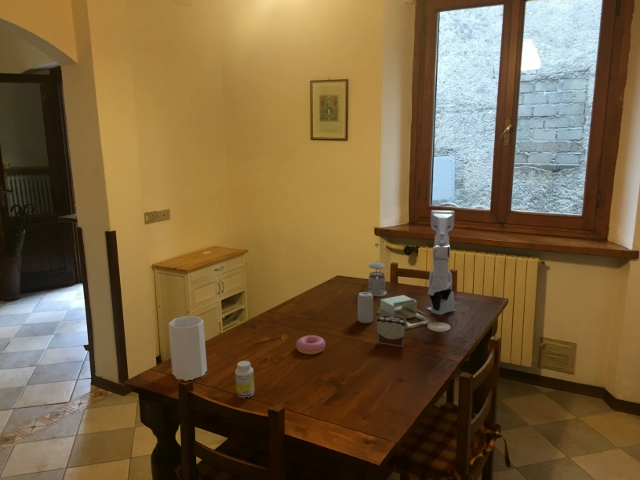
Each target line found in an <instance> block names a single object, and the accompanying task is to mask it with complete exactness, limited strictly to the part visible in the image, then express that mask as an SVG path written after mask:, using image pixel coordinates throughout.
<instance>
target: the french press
mask: <svg viewBox="0 0 640 480" xmlns="http://www.w3.org/2000/svg"><path fill="white" fill-rule="evenodd" d="M374 246H375V247H378V246H380V244H379V243H378V242H376V243H375V244H374ZM368 268H370V269H374V270H378V271H372V272H370V273H369V276H368V291H367V292H369V293H372V296H373V297H382V296H383V297H384V296H385V295H387V293H388V292H387V291H386V276H385V273H384V272H381V271H380V270H381V269H385V268H386V265H385V264H384V263H382V262H378V261H376V262H372V263H370V264H369V265H368Z"/></svg>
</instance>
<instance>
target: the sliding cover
mask: <svg viewBox="0 0 640 480" xmlns="http://www.w3.org/2000/svg"><path fill="white" fill-rule="evenodd" d="M379 304H380V308H379V309H380V310H382V311H384V312H386V313H388V314H394V308H395V307H400V306H404V307H406V308H408V309H410V310H412V311H414V312H417V310H418V309H417V304H418V301H417V300H416V299H415V298H412V297H411V298H410V297H408V296H406V295H404V294H402V295H397V296H392V297H387V298H381V299H380V303H379Z"/></svg>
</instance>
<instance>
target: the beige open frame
mask: <svg viewBox="0 0 640 480" xmlns="http://www.w3.org/2000/svg"><path fill="white" fill-rule="evenodd" d="M376 313H377V314H378V315H379V316H380V315H384V314H388V313H386V312H384V311H382V310H380V308H379V309H378V310H377V312H376ZM394 314H395V315H400V316H402V317H404V318H405V319H406V320H407V319H411V318H416V319H418V320H420V321H419V322H414V323H410V322H408V321H407V327H405V330H409V329H413V328H417V327H423V326H425V325H427V326H428V324H429V323H433V322H437V320H436V319H435V318H436V317H432V316H431V315H428V314H426V312H423V311H421V310H419V309H417V312H414V311H412V310H410V309H408V308H406V307H404V306H397V307H394Z"/></svg>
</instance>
